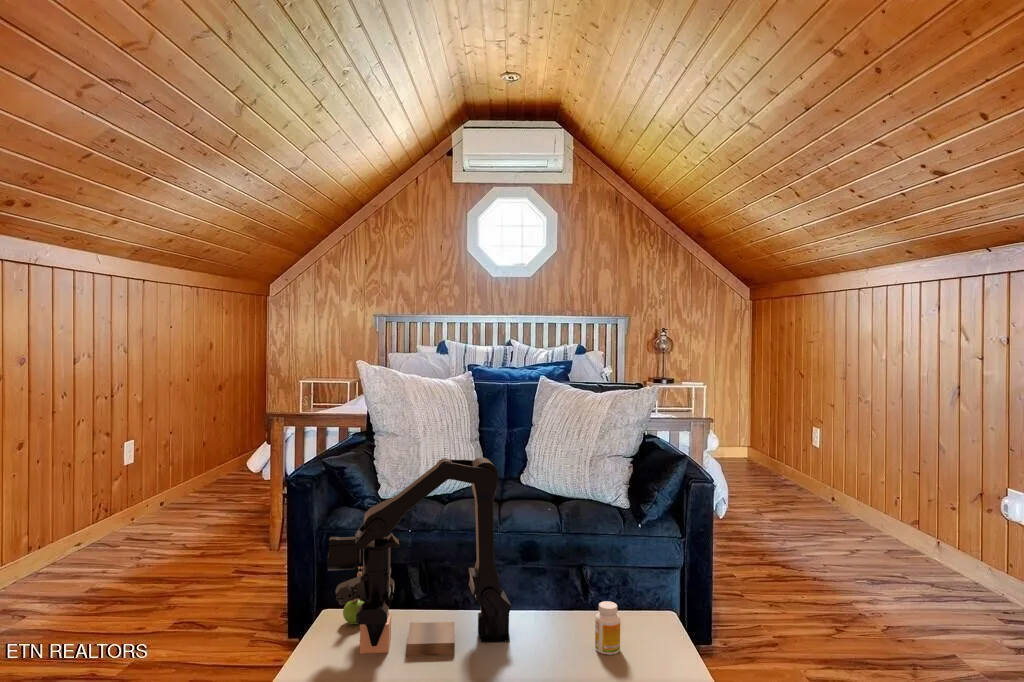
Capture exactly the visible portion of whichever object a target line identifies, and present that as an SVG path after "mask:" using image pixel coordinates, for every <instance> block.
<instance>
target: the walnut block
mask: <svg viewBox="0 0 1024 682" xmlns="http://www.w3.org/2000/svg"><path fill="white" fill-rule="evenodd" d="M455 624H456V622H455V621H441V622H440V621H436V622H434V621H432V622H429V621H428V622H410V623H409V629H408V634H407V642H406V657H429V656H431V657H432V656H433V657H434V656H454V655H455V653H456V652H455V650H456V649H455V647H456V644H455V643H456V640H455V639H456V638H455V637H456V634H455V631H456V630H455V629H456V628H455Z"/></svg>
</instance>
